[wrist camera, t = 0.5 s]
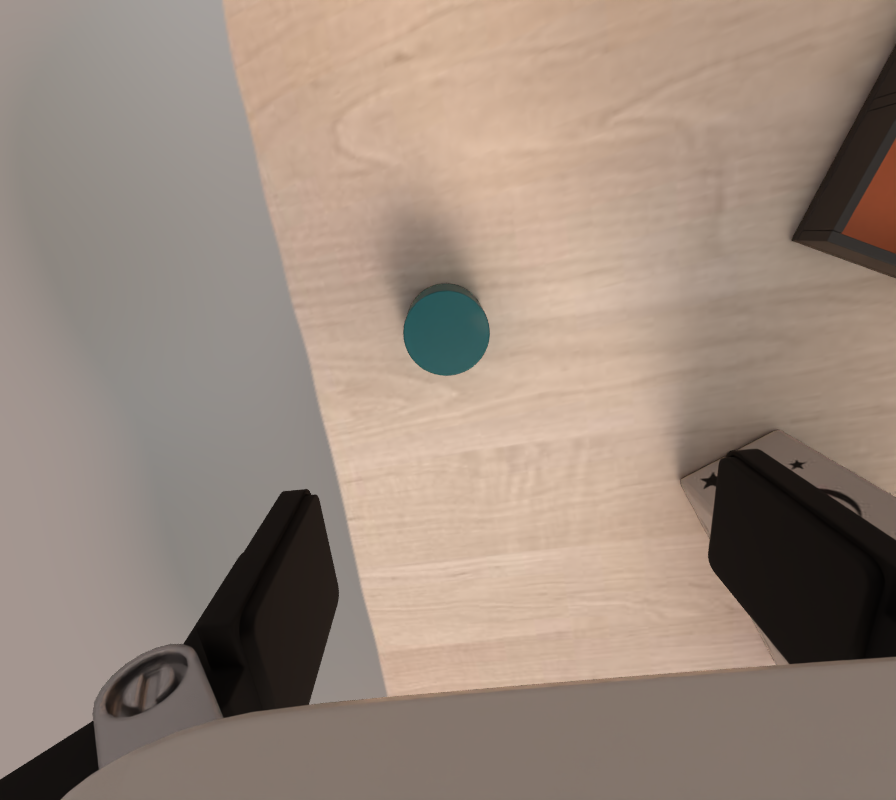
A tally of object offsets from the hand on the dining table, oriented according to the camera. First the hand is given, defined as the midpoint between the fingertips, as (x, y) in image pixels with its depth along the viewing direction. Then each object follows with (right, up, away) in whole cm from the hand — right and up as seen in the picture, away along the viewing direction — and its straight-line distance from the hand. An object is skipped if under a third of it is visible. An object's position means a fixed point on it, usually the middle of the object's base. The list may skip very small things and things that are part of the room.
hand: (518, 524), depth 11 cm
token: (-2, +8, +18) cm, 20 cm away
